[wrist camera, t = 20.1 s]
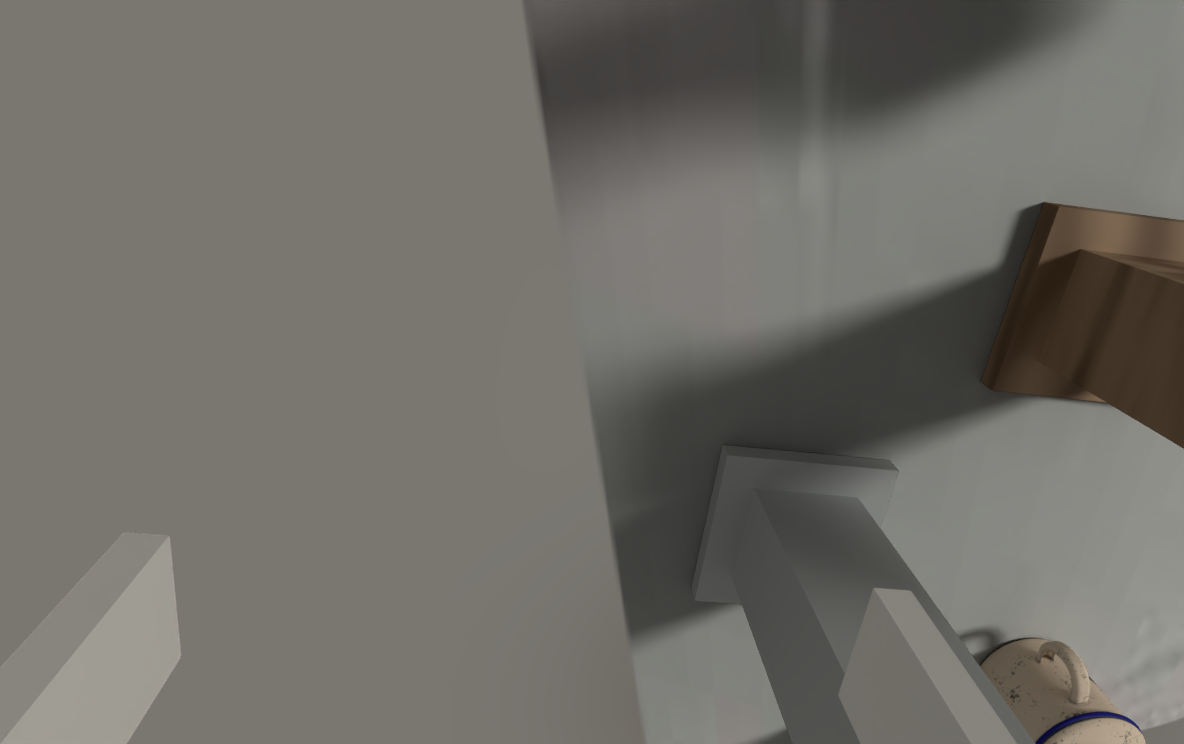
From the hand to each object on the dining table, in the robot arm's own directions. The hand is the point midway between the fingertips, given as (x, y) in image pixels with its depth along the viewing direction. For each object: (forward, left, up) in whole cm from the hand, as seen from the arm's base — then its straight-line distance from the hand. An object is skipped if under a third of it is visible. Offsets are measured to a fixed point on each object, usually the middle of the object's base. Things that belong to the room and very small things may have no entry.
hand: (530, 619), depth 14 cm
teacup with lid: (-9, +55, -37) cm, 67 cm away
